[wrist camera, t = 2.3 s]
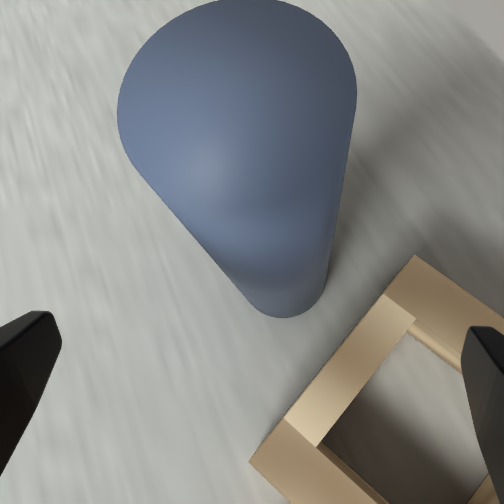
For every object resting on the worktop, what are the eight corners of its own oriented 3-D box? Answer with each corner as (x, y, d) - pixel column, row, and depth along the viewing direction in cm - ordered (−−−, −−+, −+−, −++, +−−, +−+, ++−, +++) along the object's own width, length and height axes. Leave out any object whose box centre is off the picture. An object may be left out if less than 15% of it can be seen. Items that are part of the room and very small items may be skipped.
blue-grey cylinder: (288, 336, 20) (244, 261, 6) (223, 281, 21) (70, 119, 8) (343, 269, 20) (408, 70, 7) (277, 218, 21) (223, -38, 8)
